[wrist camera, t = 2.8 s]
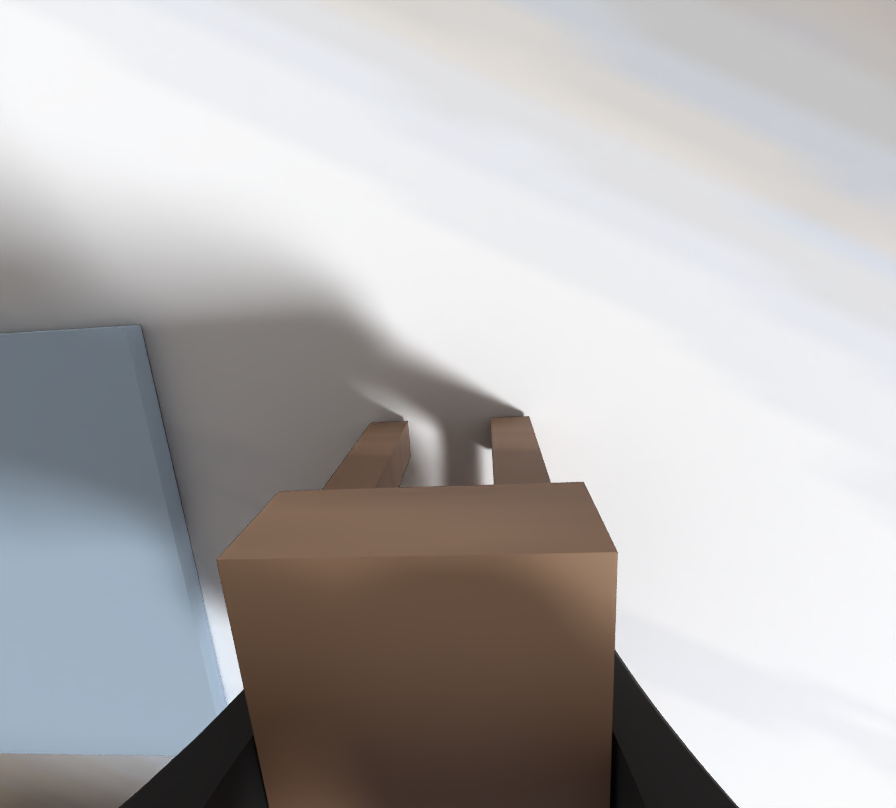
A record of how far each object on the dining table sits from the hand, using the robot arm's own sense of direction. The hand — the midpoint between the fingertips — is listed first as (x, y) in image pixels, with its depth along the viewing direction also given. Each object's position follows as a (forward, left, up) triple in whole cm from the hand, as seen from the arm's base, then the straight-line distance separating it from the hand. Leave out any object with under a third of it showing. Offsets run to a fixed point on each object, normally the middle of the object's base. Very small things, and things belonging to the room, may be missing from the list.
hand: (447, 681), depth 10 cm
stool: (0, 0, -4) cm, 4 cm away
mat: (0, +15, -4) cm, 16 cm away
